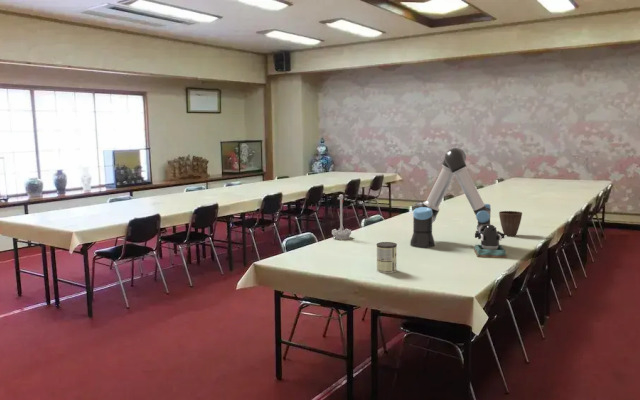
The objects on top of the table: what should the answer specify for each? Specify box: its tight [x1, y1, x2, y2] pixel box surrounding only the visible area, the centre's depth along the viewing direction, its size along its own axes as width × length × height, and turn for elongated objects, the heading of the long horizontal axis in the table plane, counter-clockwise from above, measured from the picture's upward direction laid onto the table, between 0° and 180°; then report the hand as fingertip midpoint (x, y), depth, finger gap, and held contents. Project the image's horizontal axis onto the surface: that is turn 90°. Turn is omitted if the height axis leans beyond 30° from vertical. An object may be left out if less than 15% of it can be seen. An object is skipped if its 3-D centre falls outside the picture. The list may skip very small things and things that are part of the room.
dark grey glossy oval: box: [480, 224, 500, 250], centre depth 309 cm, size 10×10×15 cm
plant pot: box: [498, 210, 523, 237], centre depth 365 cm, size 15×15×16 cm
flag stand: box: [331, 194, 352, 240], centre depth 362 cm, size 13×13×30 cm
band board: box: [473, 244, 508, 259], centre depth 310 cm, size 16×16×4 cm
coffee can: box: [376, 241, 398, 274], centre depth 275 cm, size 10×10×14 cm
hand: (491, 238), depth 305 cm, fingers closed on dark grey glossy oval, 9 cm apart
